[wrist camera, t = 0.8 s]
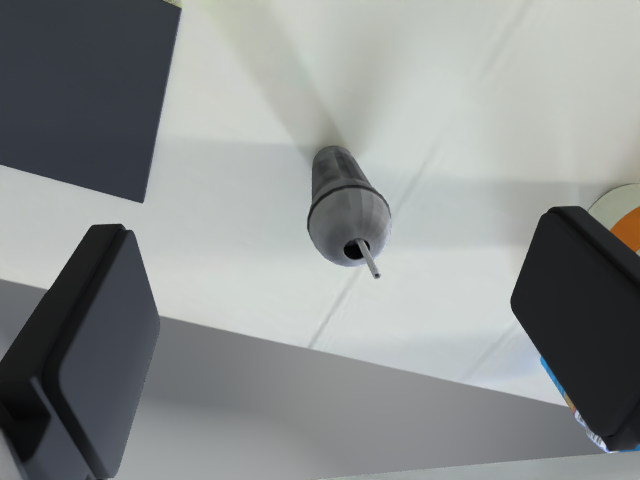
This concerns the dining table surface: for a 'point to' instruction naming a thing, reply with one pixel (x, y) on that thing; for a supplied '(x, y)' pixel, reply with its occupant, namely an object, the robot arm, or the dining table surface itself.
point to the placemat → (84, 89)
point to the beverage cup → (346, 212)
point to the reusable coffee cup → (621, 214)
